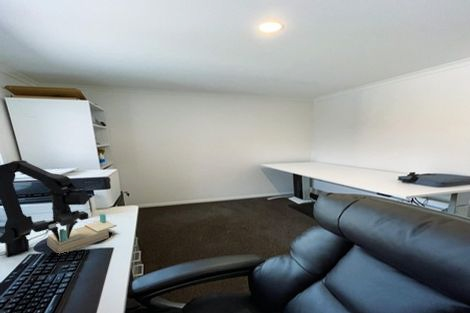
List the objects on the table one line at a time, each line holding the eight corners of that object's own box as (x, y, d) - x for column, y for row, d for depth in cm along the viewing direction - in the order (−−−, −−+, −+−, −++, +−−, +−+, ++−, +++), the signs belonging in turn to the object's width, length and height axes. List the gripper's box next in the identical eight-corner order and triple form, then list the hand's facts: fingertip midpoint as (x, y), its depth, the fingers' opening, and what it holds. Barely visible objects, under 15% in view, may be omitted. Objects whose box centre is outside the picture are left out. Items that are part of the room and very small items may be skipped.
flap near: (59, 244, 91) (58, 233, 90) (48, 236, 99) (47, 225, 99) (84, 236, 98) (83, 226, 98) (71, 229, 107) (71, 219, 106)
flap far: (97, 232, 103) (96, 222, 103) (84, 225, 111) (84, 216, 111) (116, 226, 110) (116, 216, 110) (103, 220, 119) (102, 211, 118)
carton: (59, 255, 90) (58, 246, 90) (47, 245, 99) (46, 237, 99) (108, 237, 107) (108, 229, 106) (94, 230, 116) (94, 223, 116)
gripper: (38, 214, 80) (41, 253, 81) (92, 202, 96) (94, 236, 97) (30, 209, 87) (32, 246, 88) (82, 199, 102) (84, 230, 103)
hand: (63, 239), depth 94 cm, fingers open, 3 cm apart
